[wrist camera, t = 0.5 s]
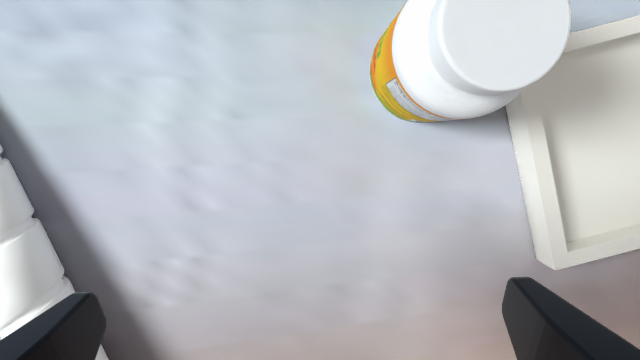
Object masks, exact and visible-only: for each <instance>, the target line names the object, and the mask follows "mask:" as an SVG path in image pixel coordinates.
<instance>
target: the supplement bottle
mask: <svg viewBox="0 0 640 360" xmlns="http://www.w3.org/2000/svg"><path fill="white" fill-rule="evenodd" d="M570 28H571V9H570V3H569V0H408V1H407V2H406V4H405V5H404V6H403V8H402V9H401V11H400V12H399V13H398V15H397V16H396V17H395V19H394V20H393V21H392V22H391V24H390V25H389V27H388V28H387V30H386V31H385V32H384V34H383V35H382V36H381V38H380V39H379V41H378V42H377V44H376V46H375V48H374V50H373V53H372V56H371V60H370V66H369V77H370V83H371V87H372V90H373V92H374V94H375V96H376V98H377V100H378V101H379V102H380V104H381V105H382V106H383V107H384V108H385V109H386V110H387V111H388V112H389V113H391V114H392V115H394V116H396V117H398V118H400V119H403V120H406V121H410V122H421V123H423V122H436V121H449V120H459V119H470V118H474V117H479V116H483V115H486V114H489V113H492V112H494V111H496V110H498V109H500V108H502V107H503V106H505V105H506V104H508V103H509V102H510V101H512V100H513V99H514V98H515V97H516V96H517V95H518V94H519V93H520V92H521V91H522V90H523V89H524V88H525V87H527V86H529V85H531V84H533V83H535V82H536V81H538V80H539V79H541V78H542V77H543V76H544V75H545V74H547V73H548V72H549V71H550V70H551V69H552V67H553V66H554V65H555V64H556V63H557V61H558V60H559V58H560V57H561V55H562V53H563V51H564V49H565V47H566V44H567V41H568V38H569V34H570Z"/></svg>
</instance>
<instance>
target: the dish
mask: <svg viewBox="0 0 640 360" xmlns="http://www.w3.org/2000/svg"><path fill="white" fill-rule="evenodd" d="M505 106H506V111H507V116H508V121H509V126H510V131H511V136H512V141H513V146H514V151H515V156H516V161H517V166H518V171H519V176H520V181H521V186H522V191H523V196H524V201H525V206H526V211H527V216H528V221H529V226H530V231H531V236H532V241H533V246H534V251H535V256H536V260H538V261H540V262H541V263H543V264H545V265H547V266H548V267H550V268H552V269H554V270H559V269H563V268H567V267H571V266H575V265H579V264H583V263H586V262H590V261H594V260H598V259H602V258H606V257H610V256H613V255H617V254H621V253H625V252H629V251H633V250H637V249H640V15H638V16H634V17H630V18H627V19H623V20H619V21H615V22H611V23H608V24H604V25H600V26H596V27H592V28H589V29H585V30H581V31H577V32H573V33H570V34H569V38H568V41H567V44H566V47H565V49H564V51H563V53H562V55H561V57H560V58H559V60H558V61H557V63H556V64H555V65H554V66H553V67H552V69H551V70H550V71H549V72H548V73H547V74H545V75H544V76H543V77H542V78H541V79H539V80H538V81H536V82H535V83H533V84H531V85H529V86H527V87H525V88H524V89H523V90H522V91H521V92H520V93H519V94H518V95H517V96H516V97H515V98H514V99H513V100H512V101H510V102H509V103H508V104H506V105H505Z"/></svg>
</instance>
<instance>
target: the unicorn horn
mask: <svg viewBox="0 0 640 360" xmlns="http://www.w3.org/2000/svg"><path fill="white" fill-rule="evenodd" d="M2 152H3V148H2V147H1V145H0V154H1V153H2ZM33 213H34V209H33V207H32V205H31V203H30V201H29V199H28V197H27V195H26V193H25V191H24V189H23V187H22V185H21V183H20V181H19V179H18V177H17V175H16V173H15V171H14V169H13V167H12V165H11V164H10V162H9V160H8V159H6V158H1V157H0V337H1V339H3V338H5V337H6V336H8V335H9V334H11V333H12V332H14V331H15V330H17V329H18V328H20V327H22V326H23V325H25V324H26V323H28V322H29V321H31V320H32V319H34V318H35V317H37V316H38V315H40V314H41V313H43V312H45V311H46V310H48V309H49V308H51V307H52V306H54V305H55V304H57V303H58V302H60V301H61V300H63V299H64V298H66V297H67V296H69V295H71V294H72V293H76V292H75V290H74V288H73V286H72V284H71V282H70V280H69V279H68V278H67V277H65V276H63V274H64V271H65V270H64V268H63V266H62V264H61V262H60V260H59V258H58V256H57V254H56V252H55V250H54V248H53V246H52V244H51V242H50V240H49V238H48V236H47V234H46V232H45V230H44V228H43V226H42V224H41V222H40V220H39V219H37V218H32V214H33ZM95 360H109V359H108V357H107V355H106V353H105V351H104V349H103V347H102V345H101V344H100V347H99V350H98V353H97V356H96V358H95Z"/></svg>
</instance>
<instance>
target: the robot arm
mask: <svg viewBox="0 0 640 360" xmlns="http://www.w3.org/2000/svg"><path fill="white" fill-rule="evenodd" d="M502 314H503V318H504V321H505V324H506V327H507V330H508V333H509V336H510V339H511V342H512V345H513V348H514V351H515V354H516V357H517V360H640V349H638V348H637V347H635V346H634V345H632V344H631V343H629V342H628V341H626V340H625V339H623V338H622V337H620V336H619V335H617V334H616V333H614V332H613V331H611V330H609V329H608V328H606V327H605V326H603V325H602V324H600V323H599V322H597V321H596V320H594V319H593V318H591V317H590V316H588V315H587V314H585V313H584V312H582V311H581V310H579V309H578V308H576V307H575V306H573V305H572V304H570V303H569V302H567V301H565V300H564V299H562V298H561V297H559V296H558V295H556V294H555V293H553V292H552V291H550V290H549V289H547V288H546V287H544V286H543V285H541V284H540V283H538V282H537V281H535V280H534V279H532V278H530V277H512V278H510V279H509V280H508V282H507V286H506V290H505V294H504V299H503V303H502ZM105 329H106V317H105V315H104V312H103V310H102V307H101V305H100V302H99V300H98V297H97V295H96V294H95V293H93V292H76V293H72V294H71V295H69V296H67V297H66V298H64V299H63V300H61V301H60V302H58V303H57V304H55V305H54V306H52V307H51V308H49V309H48V310H46V311H45V312H43V313H41V314H40V315H38V316H37V317H35V318H34V319H32V320H31V321H29V322H28V323H26V324H25V325H23V326H22V327H20V328H18V329H17V330H15V331H14V332H12V333H11V334H9V335H8V336H6V337H5V338H3V339H2V340H0V360H95V358H96V356H97V353H98V350H99V347H100V344H101V341H102V338H103V335H104V332H105Z"/></svg>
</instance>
